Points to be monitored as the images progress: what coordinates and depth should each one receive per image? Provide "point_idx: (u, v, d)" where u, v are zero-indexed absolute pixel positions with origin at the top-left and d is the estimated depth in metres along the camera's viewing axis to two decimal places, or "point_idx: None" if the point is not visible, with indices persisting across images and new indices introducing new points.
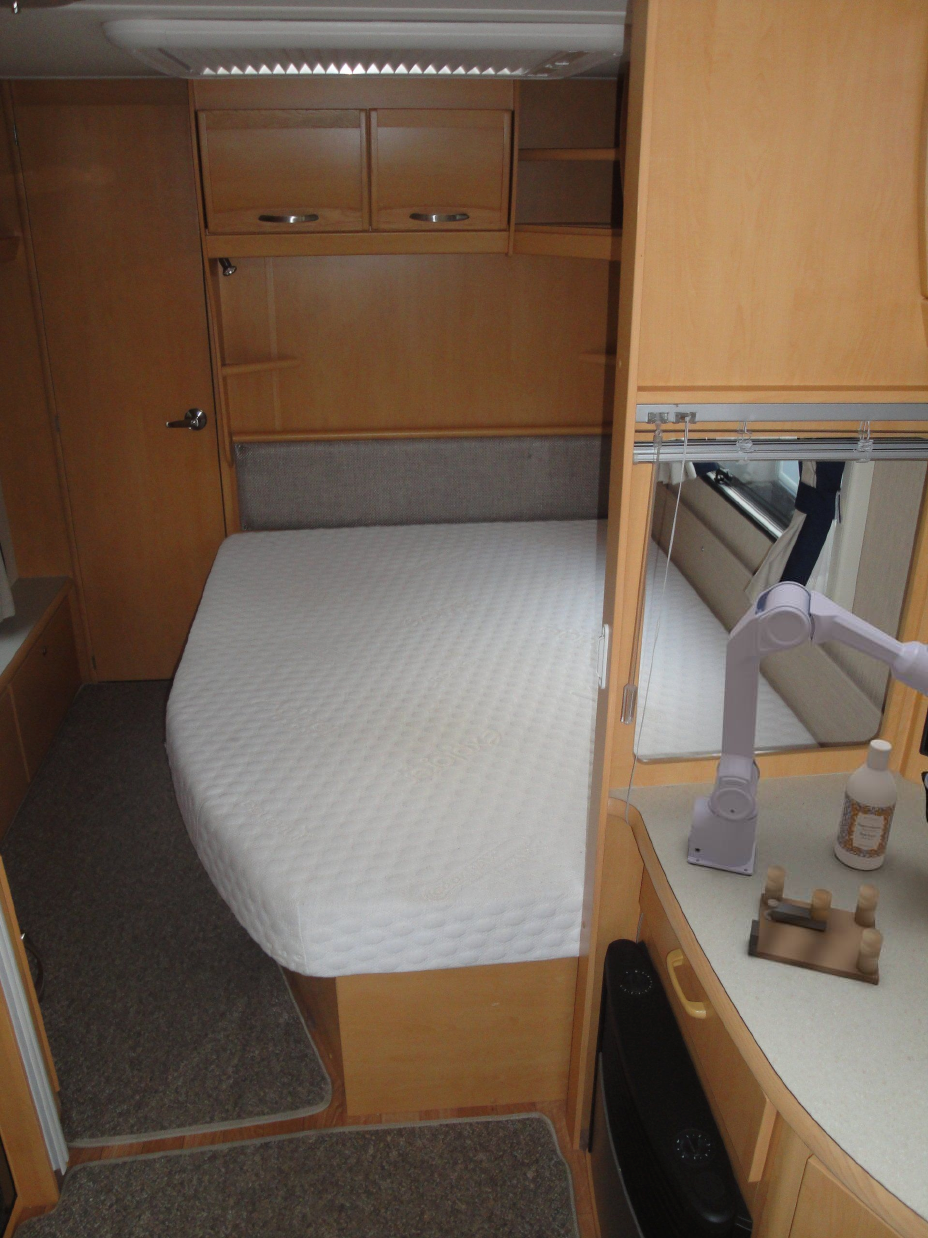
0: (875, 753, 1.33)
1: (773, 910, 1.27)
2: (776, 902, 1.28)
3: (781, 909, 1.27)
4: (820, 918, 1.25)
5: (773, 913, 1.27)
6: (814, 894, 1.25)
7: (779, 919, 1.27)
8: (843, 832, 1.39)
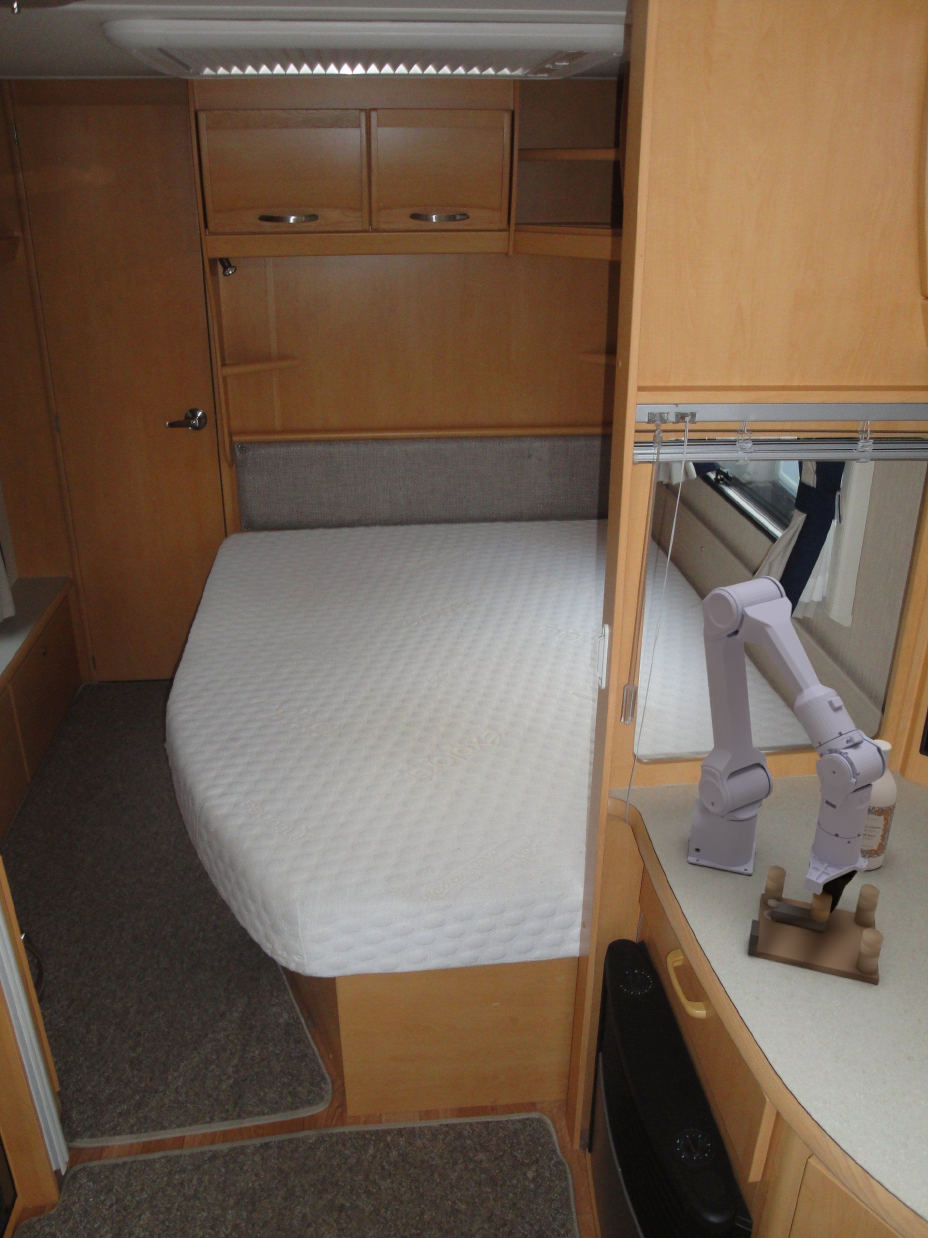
0: None
1: (773, 910, 1.27)
2: (776, 902, 1.28)
3: (781, 909, 1.27)
4: (820, 919, 1.25)
5: (773, 913, 1.27)
6: (814, 895, 1.24)
7: (779, 919, 1.27)
8: None
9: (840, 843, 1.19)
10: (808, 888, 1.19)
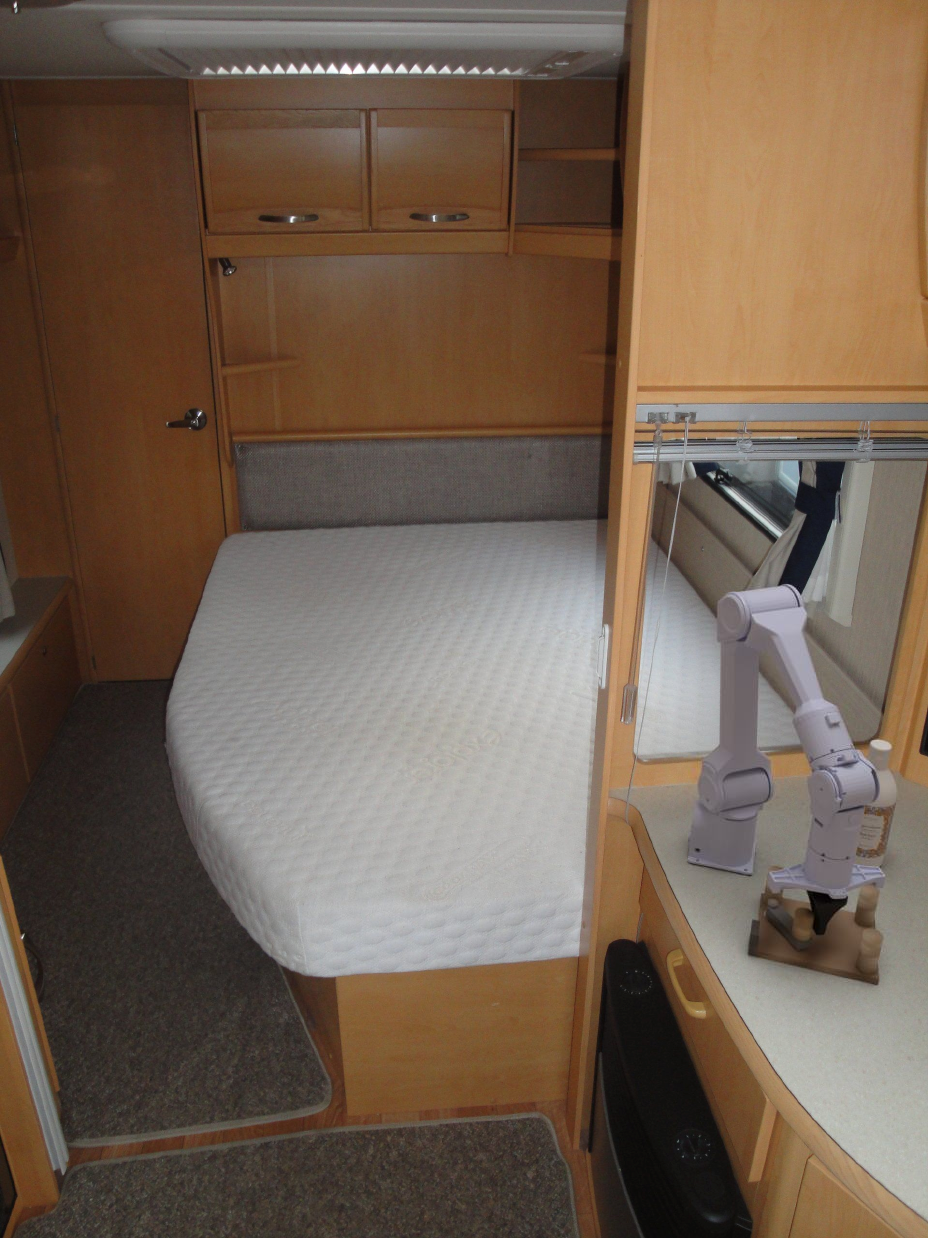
0: (875, 753, 1.33)
1: (767, 908, 1.27)
2: (775, 904, 1.27)
3: (774, 911, 1.27)
4: (794, 934, 1.22)
5: (767, 911, 1.28)
6: (797, 909, 1.22)
7: (770, 919, 1.27)
8: None
9: (814, 858, 1.16)
10: (769, 884, 1.20)
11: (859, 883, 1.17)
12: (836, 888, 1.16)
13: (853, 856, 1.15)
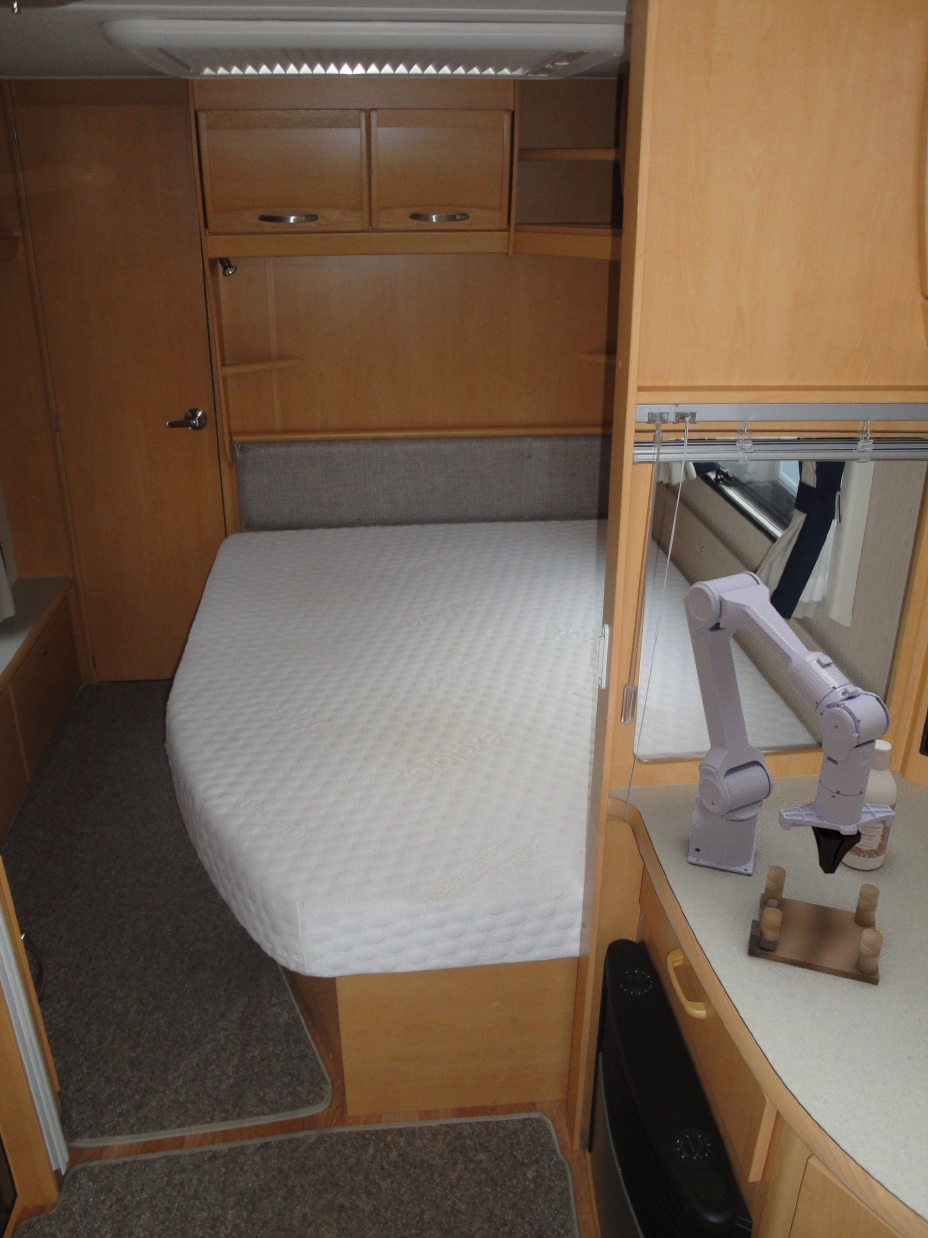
0: (875, 753, 1.33)
1: (765, 904, 1.28)
2: (774, 904, 1.27)
3: None
4: (760, 930, 1.23)
5: None
6: (771, 908, 1.22)
7: None
8: None
9: (825, 794, 1.18)
10: (779, 821, 1.21)
11: (869, 820, 1.19)
12: (846, 824, 1.18)
13: (863, 792, 1.17)
